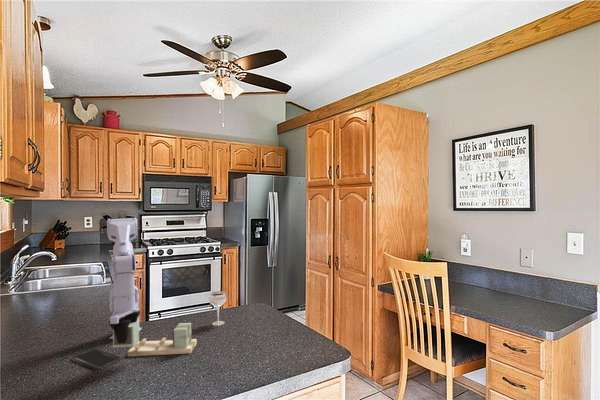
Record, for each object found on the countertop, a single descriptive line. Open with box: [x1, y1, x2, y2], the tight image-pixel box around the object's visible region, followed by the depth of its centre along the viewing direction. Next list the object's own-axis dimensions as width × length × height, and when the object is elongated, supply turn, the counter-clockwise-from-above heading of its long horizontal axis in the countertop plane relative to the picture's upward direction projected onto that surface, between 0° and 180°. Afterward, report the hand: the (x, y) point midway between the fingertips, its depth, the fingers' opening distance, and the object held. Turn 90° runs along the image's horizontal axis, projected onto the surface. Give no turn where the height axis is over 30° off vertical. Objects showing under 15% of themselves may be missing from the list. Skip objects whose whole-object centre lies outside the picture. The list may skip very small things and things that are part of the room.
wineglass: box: [208, 290, 227, 326], centre depth 139 cm, size 7×7×12 cm
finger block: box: [112, 321, 140, 348], centre depth 106 cm, size 5×6×6 cm
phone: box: [71, 348, 121, 371], centre depth 109 cm, size 8×1×15 cm
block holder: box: [127, 322, 198, 357], centre depth 116 cm, size 8×20×8 cm, turn 93°
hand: (125, 339), depth 106 cm, fingers closed on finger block, 5 cm apart
